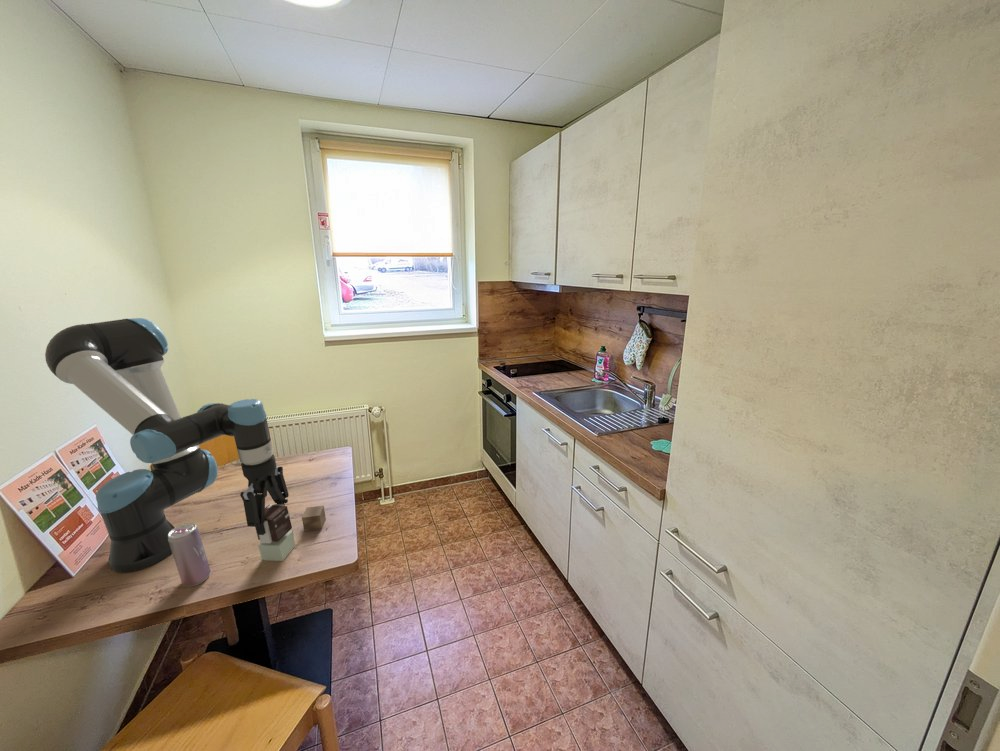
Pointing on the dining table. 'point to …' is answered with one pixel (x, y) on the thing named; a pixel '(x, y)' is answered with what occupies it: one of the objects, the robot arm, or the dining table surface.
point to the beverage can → (189, 554)
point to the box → (277, 521)
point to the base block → (277, 548)
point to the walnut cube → (313, 518)
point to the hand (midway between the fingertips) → (274, 533)
